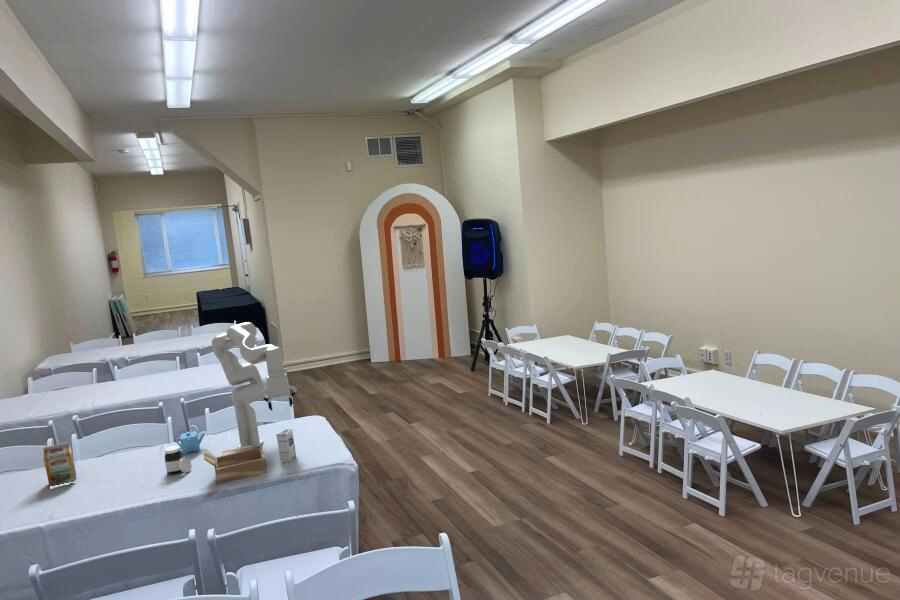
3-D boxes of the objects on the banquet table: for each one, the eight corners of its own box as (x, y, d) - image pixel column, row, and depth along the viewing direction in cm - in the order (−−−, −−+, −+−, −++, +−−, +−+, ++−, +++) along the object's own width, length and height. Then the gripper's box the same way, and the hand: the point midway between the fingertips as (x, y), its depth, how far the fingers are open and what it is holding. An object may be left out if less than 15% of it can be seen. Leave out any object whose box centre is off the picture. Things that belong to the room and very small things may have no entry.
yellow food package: (50, 489, 303) (42, 451, 300) (51, 481, 313) (44, 444, 309) (75, 483, 308) (68, 445, 305) (76, 475, 317) (69, 438, 314)
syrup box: (291, 462, 310) (287, 433, 307) (280, 462, 311) (276, 433, 308) (296, 457, 315) (292, 428, 313) (285, 457, 316) (281, 429, 314)
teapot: (178, 447, 342) (175, 429, 341) (206, 441, 347) (203, 424, 346) (177, 459, 326) (174, 440, 324) (207, 453, 331) (204, 434, 329)
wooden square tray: (215, 467, 312) (213, 453, 311) (262, 456, 320) (260, 443, 319) (217, 484, 292) (214, 469, 291) (267, 472, 300) (265, 458, 299)
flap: (215, 456, 305) (214, 457, 305) (204, 448, 302) (203, 449, 302) (216, 466, 292) (216, 467, 292) (204, 458, 290) (203, 459, 290)
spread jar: (169, 468, 316) (165, 445, 314) (193, 464, 318) (190, 441, 316) (165, 478, 304) (161, 455, 302) (190, 473, 307) (186, 450, 305)
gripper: (293, 367, 312) (298, 402, 315) (256, 374, 306) (261, 409, 309) (296, 371, 305) (300, 406, 308) (258, 378, 299) (263, 414, 302)
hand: (281, 407), depth 309 cm, fingers open, 8 cm apart
